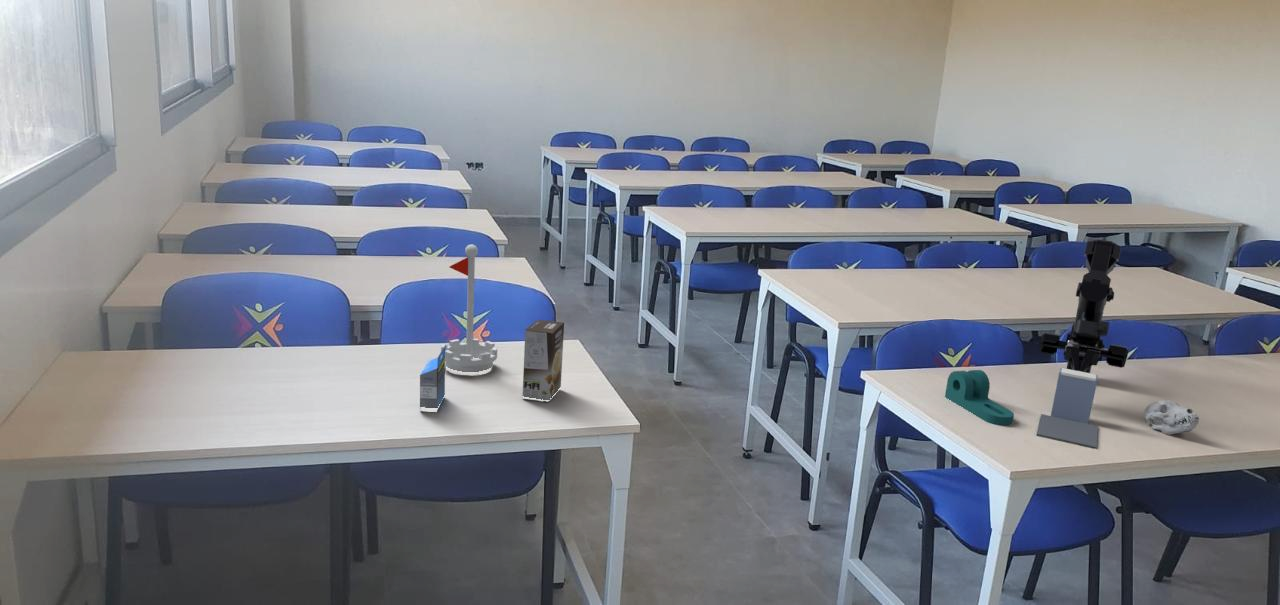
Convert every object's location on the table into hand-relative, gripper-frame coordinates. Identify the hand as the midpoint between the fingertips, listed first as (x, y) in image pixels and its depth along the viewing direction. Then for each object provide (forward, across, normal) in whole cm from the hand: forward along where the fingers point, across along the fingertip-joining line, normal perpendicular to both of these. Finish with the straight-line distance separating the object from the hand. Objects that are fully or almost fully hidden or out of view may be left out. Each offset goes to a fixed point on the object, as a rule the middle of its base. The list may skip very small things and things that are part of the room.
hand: (1077, 380), depth 218 cm
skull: (+5, +20, +7) cm, 22 cm away
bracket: (+14, -19, -2) cm, 24 cm away
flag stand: (+49, -129, -36) cm, 143 cm away
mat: (+15, 0, -4) cm, 16 cm away
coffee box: (+52, -106, -39) cm, 124 cm away
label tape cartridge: (+66, -122, -52) cm, 147 cm away
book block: (+9, 0, +3) cm, 9 cm away
